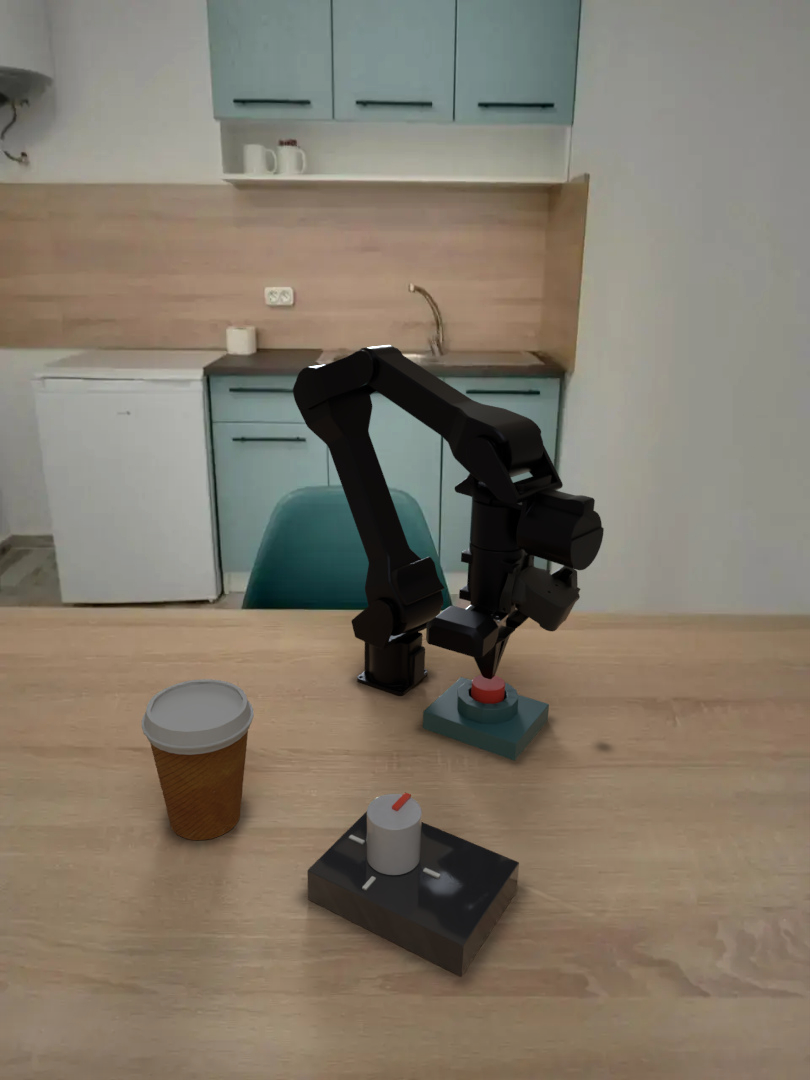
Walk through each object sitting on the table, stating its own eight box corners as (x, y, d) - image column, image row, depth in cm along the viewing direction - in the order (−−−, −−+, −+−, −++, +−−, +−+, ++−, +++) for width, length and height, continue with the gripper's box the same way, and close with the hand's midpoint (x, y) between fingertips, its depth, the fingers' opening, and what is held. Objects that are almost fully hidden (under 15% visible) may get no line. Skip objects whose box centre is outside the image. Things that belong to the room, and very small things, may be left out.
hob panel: (307, 899, 67) (306, 868, 66) (374, 829, 75) (375, 800, 74) (461, 977, 60) (463, 944, 59) (516, 891, 68) (519, 860, 67)
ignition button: (465, 698, 90) (466, 684, 89) (480, 684, 93) (480, 670, 92) (495, 708, 88) (496, 694, 87) (509, 693, 91) (510, 679, 90)
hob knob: (402, 883, 65) (404, 833, 63) (355, 862, 67) (356, 813, 65) (429, 850, 68) (431, 802, 67) (384, 830, 71) (385, 783, 69)
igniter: (422, 728, 91) (423, 696, 89) (460, 693, 98) (461, 663, 97) (514, 761, 85) (517, 728, 84) (547, 721, 93) (550, 689, 91)
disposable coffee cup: (164, 866, 70) (153, 746, 66) (142, 801, 78) (130, 690, 74) (272, 833, 74) (267, 718, 70) (240, 774, 82) (235, 668, 78)
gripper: (536, 591, 73) (522, 742, 78) (604, 531, 88) (589, 662, 93) (426, 564, 78) (420, 707, 84) (507, 512, 93) (499, 637, 99)
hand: (488, 677), depth 90 cm, fingers closed
